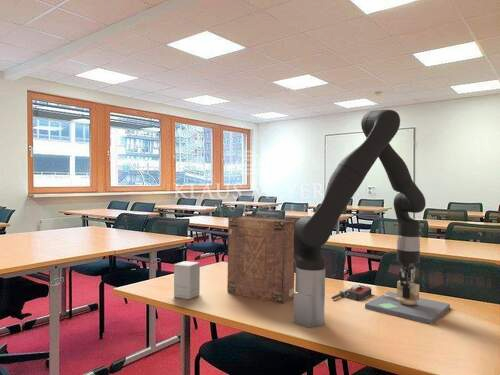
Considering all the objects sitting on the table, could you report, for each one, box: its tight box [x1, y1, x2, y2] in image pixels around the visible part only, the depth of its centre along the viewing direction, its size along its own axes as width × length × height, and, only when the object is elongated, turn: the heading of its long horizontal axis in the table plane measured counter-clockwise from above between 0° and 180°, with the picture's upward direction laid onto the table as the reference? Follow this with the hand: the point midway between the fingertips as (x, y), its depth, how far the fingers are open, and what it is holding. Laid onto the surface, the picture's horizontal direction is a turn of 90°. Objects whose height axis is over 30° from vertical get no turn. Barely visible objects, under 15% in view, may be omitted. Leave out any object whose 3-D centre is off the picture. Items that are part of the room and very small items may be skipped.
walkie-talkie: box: [331, 284, 373, 301], centre depth 146 cm, size 9×4×20 cm
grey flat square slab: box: [364, 291, 451, 325], centre depth 133 cm, size 22×22×2 cm
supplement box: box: [173, 260, 201, 300], centre depth 143 cm, size 7×7×13 cm
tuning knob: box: [382, 280, 420, 306], centre depth 136 cm, size 14×6×7 cm, turn 37°
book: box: [226, 215, 296, 304], centre depth 146 cm, size 25×9×30 cm, turn 57°
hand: (407, 296), depth 133 cm, fingers closed on tuning knob, 3 cm apart
